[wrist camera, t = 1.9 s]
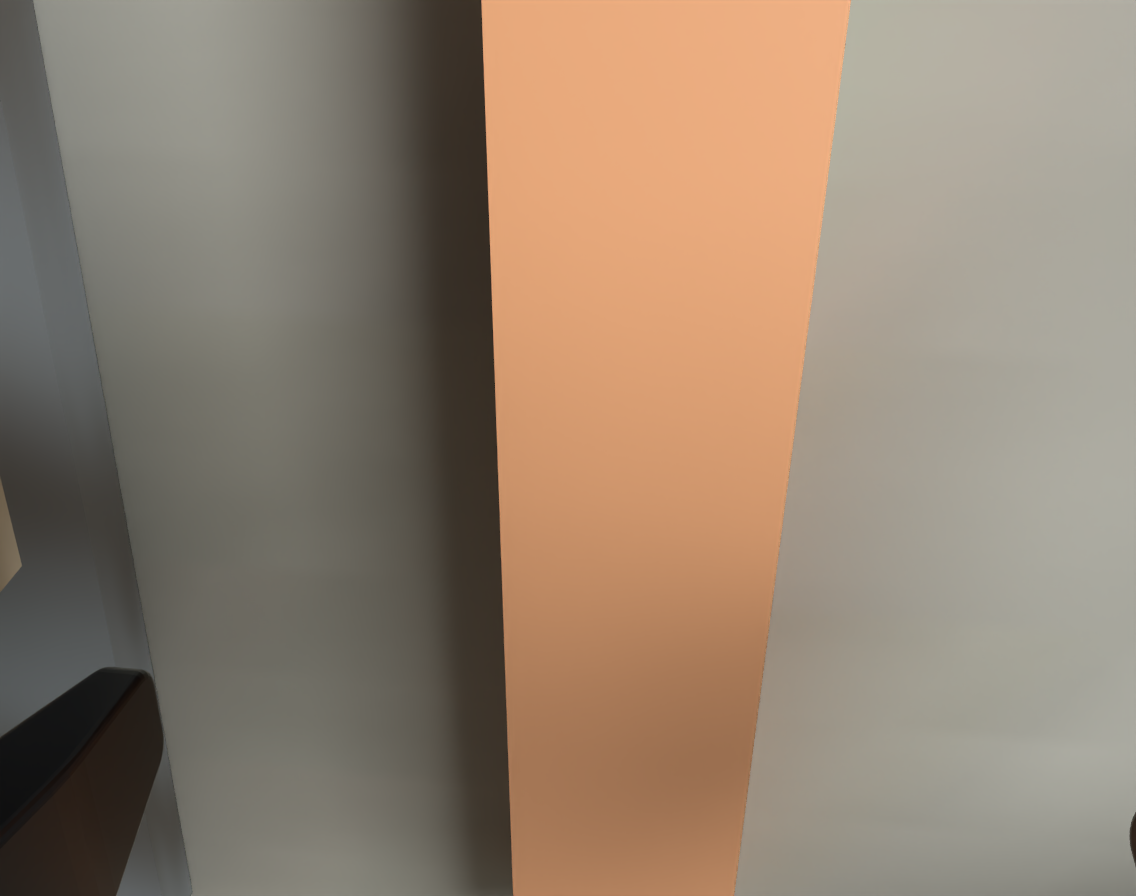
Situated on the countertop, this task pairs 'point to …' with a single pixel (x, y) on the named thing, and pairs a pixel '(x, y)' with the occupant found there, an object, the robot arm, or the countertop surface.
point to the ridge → (60, 455)
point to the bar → (646, 410)
